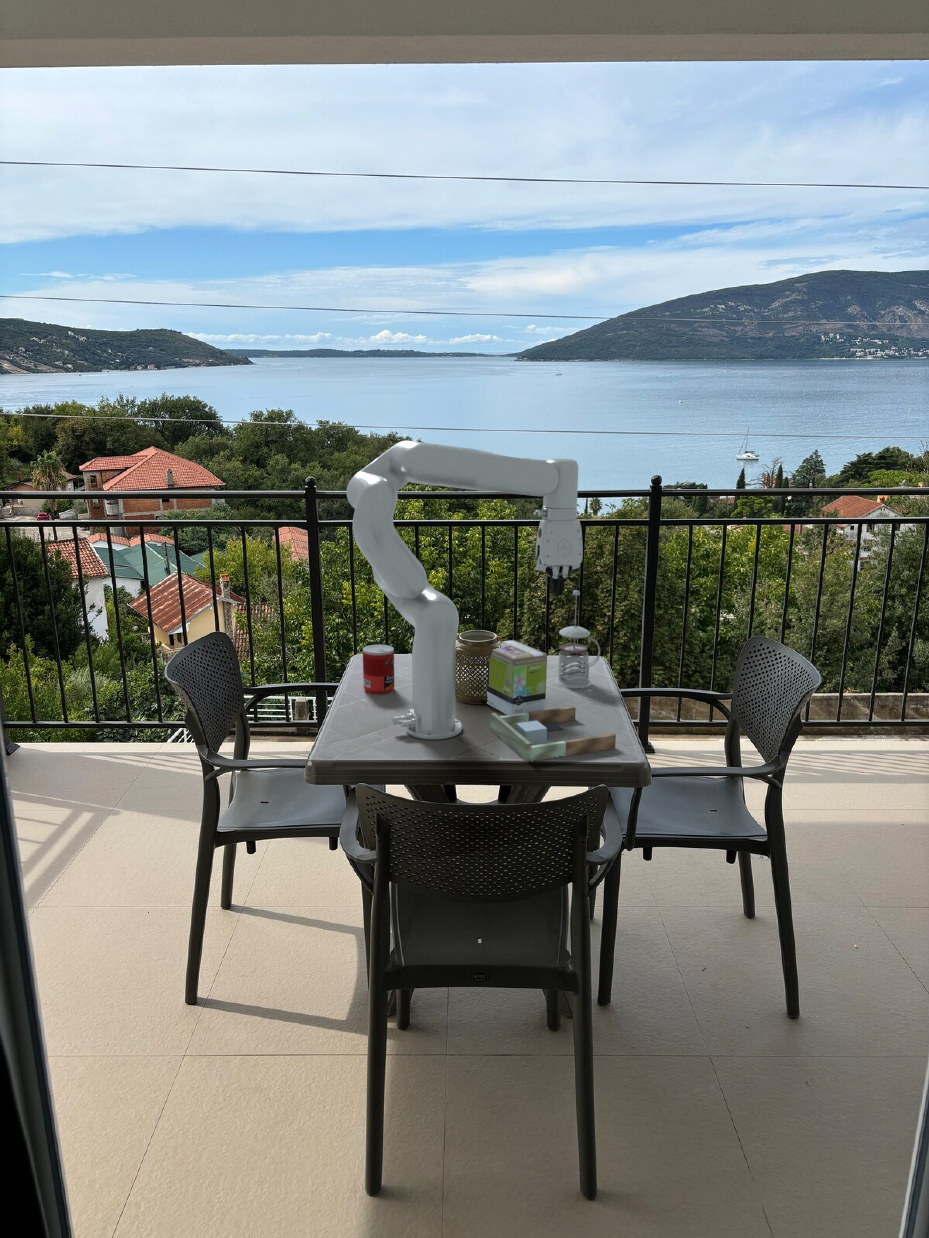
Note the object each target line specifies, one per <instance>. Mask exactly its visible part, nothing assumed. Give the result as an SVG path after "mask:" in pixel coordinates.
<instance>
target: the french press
mask: <svg viewBox="0 0 929 1238" xmlns="http://www.w3.org/2000/svg"><path fill="white" fill-rule="evenodd" d="M580 595H581V592H580V590H577V589H575V590H573V591H572V596H575V602H577V601H578V600H577V599H578V598H577V597H578V596H580ZM574 608H575V610H574V625H571V626H566V627H563V628H562V629H560V630H559V631H558V633H559V635H560V636H561V637H563V638H567V639H573V643H567V644H565V643H564V644H562V645H561V646H560V647H559V648H560V651H559V652H558V671H557V672H558V673H557V674H558V676H557V678H556V679H554V681H555V682H554V681H553V683H554V684H555V685H556V684H557V685H558V687H561V688H564V689H569V688H582V689H585V687H586V686H588V685H589V684H590V682H591V681H590V680H589V674H590V673H589V671H590V667H592V666H594V665H595V664H596V663H597V662H598V661H599V660H600V656H601V648H600V645H599V643H598V641H597V639H595V638H593V637H592V636H590V635H591V632H590V630H588V629H586V628H584V627H581V626H578V625H577V626H576V623H577V621H576V620H577V605H575V607H574ZM587 637H588V639H587V641H588V644H591V641H593V642H594V643H595V644H596V645H597V647H598V652H597V656H596V657H595V659H594V660H593V661H591V662H589V656H590V655H589V652H588V650H589V648H588V646H586V645H583V644H579V643H575V642H576V639H585V638H587ZM572 654H573V655H572ZM574 654H575V655H574ZM577 654H579V655H577ZM570 655H571V656H570ZM573 663H574V664H573ZM575 663H576V664H575ZM557 685H556V686H557Z"/></svg>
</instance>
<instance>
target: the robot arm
mask: <svg viewBox="0 0 929 1238" xmlns="http://www.w3.org/2000/svg"><path fill="white" fill-rule="evenodd" d="M409 482H410V483H413V484H417V485H418V484H420V485H427V486H428V485H429V486H439V487H447V488H455V489H457V488H458V489H463V490H464V489H465V490H473V491H480V492H481V491H482V492H498V493H508V494H515V495H525V496H533V497H543V501H542V503H543V505H542V509H541V510H538V511H537V516H538V517H541V518H542V520H540V522H539V526H538V530H537V533H536V535H537V536H536V542H535V543H536V544H535V561H536V562H535V563H536V566H535V569H536V570H537V571H539V572H545V574H547V577H549V591H550V593H551V595H554V596H555V597H558V596H564V592H565V587H566V586H565V585H566V578H568V575H569V573H571V571H572V570H576V569H579V568H580V567H581V563H582V562H583V556H584V555H583V552H584V551H583V550H584V548H583V547H584V545H583V532H582V527H581V526H582V524H581V522H580V520H577V513H578V512H577V511H578V508H577V507H578V487H579V464H578V461H576V460H575V459H571V458H551V459H537V458H528V457H523V458H521V457H515V456H508V455H502V454H498V453H493V452H489V451H485V450H482V449H475V448H467V447H460V446H452V445H445V444H444V445H443V444H438V443H437V444H436V443H428V442H421V441H420V442H419V441H414V440H402V441H400V442H397V443H395V444H394V445H393V446H391V447H390V448H388V449H387V450H386V451H384V452H383V453H382V454H381V455H379V456H378V457H377V458H375V459H374V460H372V461H371V462H370V463H369V464H367V465H366V466H365V467H364V468H362V469H361V470H359V471H357V473H356V474H355V475H354V476H353V477H351V479H350V480H349V482H348V484H347V488H346V498H347V501H348V503H349V504H350V505H351V507H352V508H354V512H353V516H352V534H353V539H354V541H355V544H356V546H357V547H358V550H360V552H361V554H362V555H363V557H364V558H365V560H367V563H369V565H370V566H371V568H372V574H373V575H372V576H373V579H374V581H375V583H376V584H377V586H378V587H379V589H380V590H381V591H382V592H383V594H384V595H385V596H386V598H388V600H389V602H390V603H391V604H392V605H393V607H394V608H395V609H396V610H397V611H398V613H399V614H400V615H401V616H402V617H403V618H404V620H405V621H407V623H409V624H410V625H412V626H413V627H414V637H413V643H412V653H411V658H412V659H411V661H412V662H411V665H412V708H409V709H408V713H405V715H395V716H391V723H392V725H393V726H398V725H400V727H401V728H405V730H406V732H407V733H408V734H409V735H410V736H411V737H414V738H417V739H422V740H444V739H449V738H452V737H456V736H457V735H459V734H460V733H461V732H462V730H463V725H462V722H461V721H460V720H459V719H457V718H456V648H457V647H456V646H457V645H456V644H457V635H458V631H459V622H460V620H459V611H458V609H457V607H456V604H455V603H454V601H452V599H450V598H449V597H448V596H447V595H445V594H444V593H441V592H440V591H438V590H436V589H435V588H434V587H433V586H432V585H431V584H430V583H429V581H428V578H427V577H428V576H427V573H426V569H425V567H424V566H423V564H422V562H420V560H419V559H418V558H417V557H416V556H415V555H414V553H413V552H412V551H411V549H410V548H409V547H408V546H407V544H406V543H405V541H404V540H403V539H402V538H401V536H400V534H399V533H398V532H397V530H396V528H395V525H394V515H395V511H396V508H397V504H398V499H399V498H398V491H400V490H401V489H402V488H403V487H404V486H406V485H407V484H408V483H409Z"/></svg>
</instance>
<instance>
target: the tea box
mask: <svg viewBox="0 0 929 1238" xmlns="http://www.w3.org/2000/svg"><path fill="white" fill-rule="evenodd" d="M499 642H500V643H501V642H502V643H501V648H500V646H498V647H499V648H498V649H497V648H496V649H493V652H492V654H491V657H490V660H489V665H488V680H487V697H488V698H487V700H488V701H487V703H486V704H487V705H488V706H490V707H492V708H494V709H495V710H498V711H499V712H501V713H503V714H504V715H513V714H520V713H527V712H535V711H542V710H546V699H547V698H546V696H547V695H546V694H547V675H548V674H547V672H548V671H547V670H548V669H547V668H548V654H547V653H545V652H543V651H541V650H539V649H536V648H534V647H531V646H528V645H527V644H524V643H522V642H519V641H516V640H515V639H512V640H510V639H509V640H504V641H499Z"/></svg>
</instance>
